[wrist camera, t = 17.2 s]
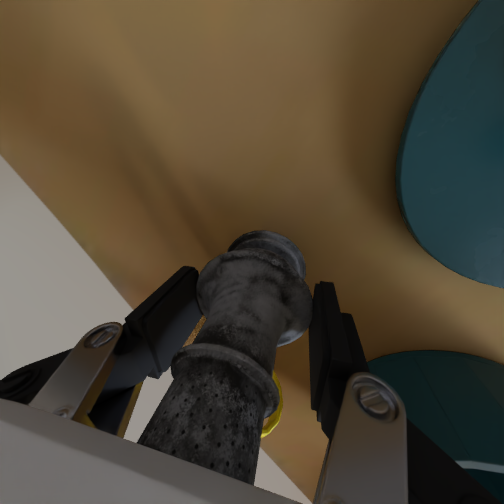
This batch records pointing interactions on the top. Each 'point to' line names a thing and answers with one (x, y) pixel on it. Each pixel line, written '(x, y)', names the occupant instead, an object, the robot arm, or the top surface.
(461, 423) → the pan
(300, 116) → the top surface
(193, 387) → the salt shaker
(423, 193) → the pan lid
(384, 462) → the robot arm
